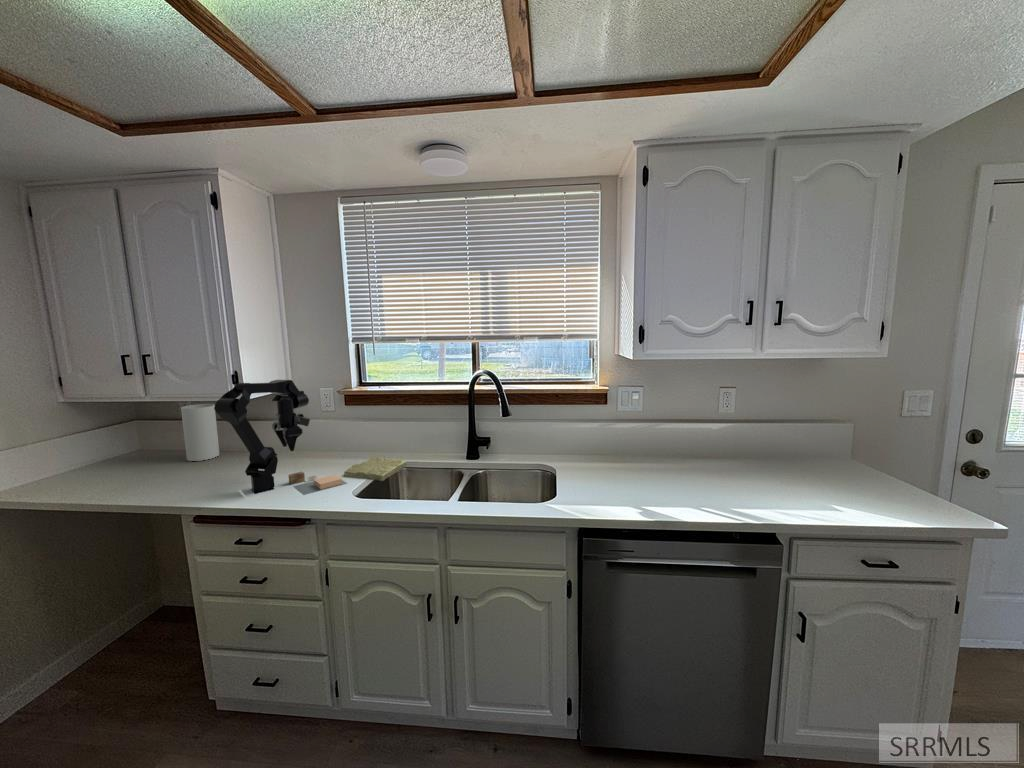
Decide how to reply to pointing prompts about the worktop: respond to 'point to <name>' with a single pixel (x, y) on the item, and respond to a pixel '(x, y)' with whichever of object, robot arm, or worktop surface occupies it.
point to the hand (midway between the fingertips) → (288, 448)
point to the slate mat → (311, 487)
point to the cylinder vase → (200, 432)
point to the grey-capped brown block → (300, 478)
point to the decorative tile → (376, 468)
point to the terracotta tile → (327, 481)
